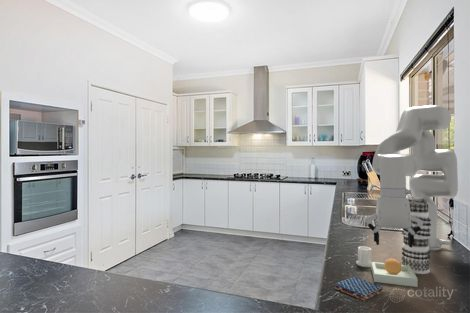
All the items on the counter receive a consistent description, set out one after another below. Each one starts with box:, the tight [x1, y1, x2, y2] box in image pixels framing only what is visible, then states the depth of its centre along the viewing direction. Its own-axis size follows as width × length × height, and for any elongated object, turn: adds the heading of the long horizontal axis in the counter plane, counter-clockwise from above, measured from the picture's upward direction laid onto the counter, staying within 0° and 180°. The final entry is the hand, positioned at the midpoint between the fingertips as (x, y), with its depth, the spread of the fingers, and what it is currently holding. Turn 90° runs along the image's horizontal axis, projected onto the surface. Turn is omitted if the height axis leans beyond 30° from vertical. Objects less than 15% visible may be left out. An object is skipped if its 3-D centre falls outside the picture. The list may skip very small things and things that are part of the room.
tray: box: [370, 261, 419, 288], centre depth 103 cm, size 12×12×2 cm
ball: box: [384, 258, 402, 275], centre depth 103 cm, size 5×5×5 cm
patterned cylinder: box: [401, 196, 431, 275], centre depth 110 cm, size 9×9×25 cm
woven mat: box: [334, 276, 384, 301], centre depth 93 cm, size 10×11×2 cm
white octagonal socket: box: [355, 245, 372, 268], centre depth 115 cm, size 6×6×6 cm
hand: (393, 244), depth 103 cm, fingers open, 9 cm apart
